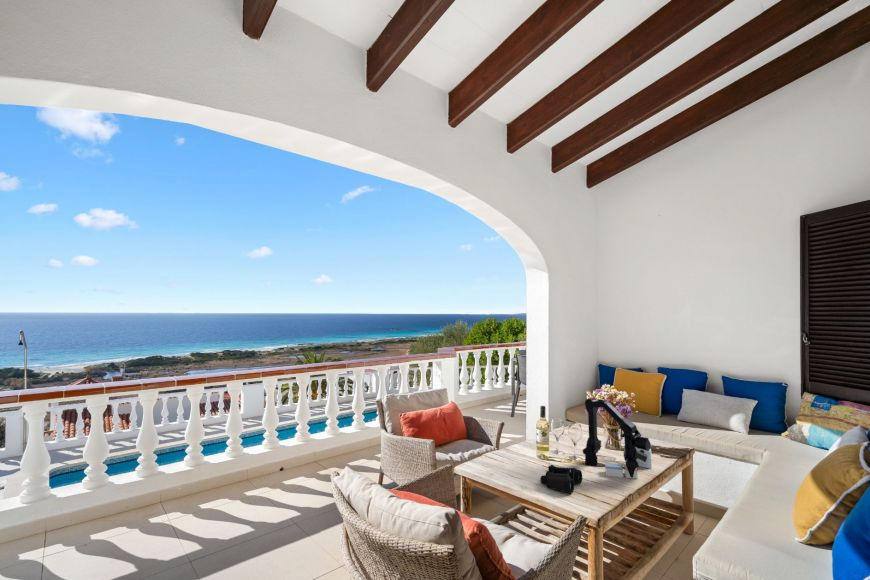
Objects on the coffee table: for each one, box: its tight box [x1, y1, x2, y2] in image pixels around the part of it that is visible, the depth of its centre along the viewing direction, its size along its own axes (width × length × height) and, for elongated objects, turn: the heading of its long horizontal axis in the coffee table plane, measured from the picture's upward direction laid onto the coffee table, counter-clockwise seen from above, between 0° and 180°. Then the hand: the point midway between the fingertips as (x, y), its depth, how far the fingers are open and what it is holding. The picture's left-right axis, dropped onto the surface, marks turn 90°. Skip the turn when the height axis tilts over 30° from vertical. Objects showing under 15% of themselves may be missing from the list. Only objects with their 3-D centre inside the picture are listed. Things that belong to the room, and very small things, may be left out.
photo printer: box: [636, 447, 653, 469], centre depth 245 cm, size 10×4×12 cm, turn 43°
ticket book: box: [604, 462, 626, 478], centre depth 233 cm, size 10×6×5 cm, turn 69°
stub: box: [624, 464, 639, 480], centre depth 230 cm, size 6×5×5 cm
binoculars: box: [540, 464, 583, 494], centre depth 220 cm, size 22×19×10 cm
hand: (631, 474), depth 230 cm, fingers open, 8 cm apart
